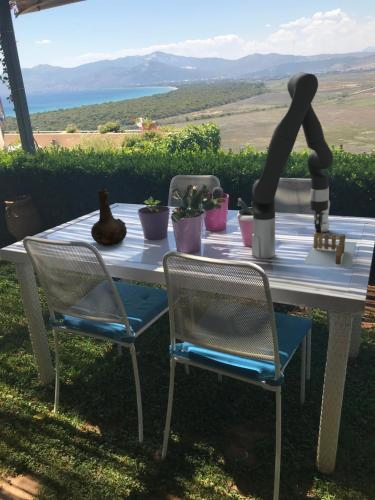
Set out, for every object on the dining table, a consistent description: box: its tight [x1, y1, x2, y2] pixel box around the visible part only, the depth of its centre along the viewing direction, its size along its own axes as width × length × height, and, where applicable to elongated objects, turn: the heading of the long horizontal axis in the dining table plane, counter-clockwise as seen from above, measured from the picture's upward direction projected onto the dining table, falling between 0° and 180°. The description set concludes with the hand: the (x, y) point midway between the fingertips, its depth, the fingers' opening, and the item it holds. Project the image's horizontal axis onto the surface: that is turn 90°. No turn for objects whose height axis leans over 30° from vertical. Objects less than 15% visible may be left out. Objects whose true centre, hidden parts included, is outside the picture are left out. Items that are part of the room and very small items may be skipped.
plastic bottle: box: [314, 200, 331, 233], centre depth 202 cm, size 6×7×20 cm
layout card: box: [303, 239, 357, 269], centre depth 178 cm, size 31×18×1 cm, turn 155°
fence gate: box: [313, 232, 346, 250], centre depth 179 cm, size 13×2×7 cm, turn 65°
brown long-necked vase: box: [90, 188, 128, 247], centre depth 208 cm, size 18×18×28 cm
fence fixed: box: [335, 234, 346, 264], centre depth 170 cm, size 14×2×8 cm, turn 155°
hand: (318, 236), depth 184 cm, fingers closed
